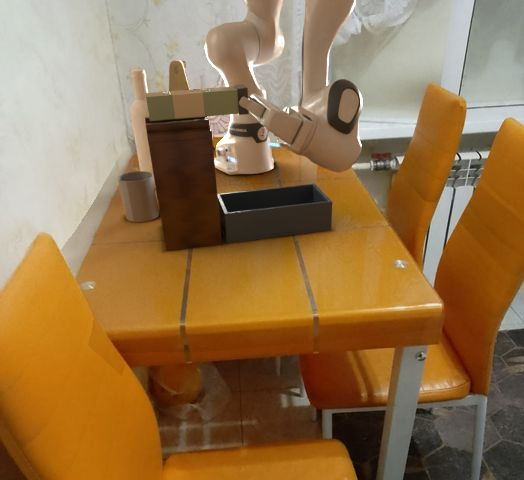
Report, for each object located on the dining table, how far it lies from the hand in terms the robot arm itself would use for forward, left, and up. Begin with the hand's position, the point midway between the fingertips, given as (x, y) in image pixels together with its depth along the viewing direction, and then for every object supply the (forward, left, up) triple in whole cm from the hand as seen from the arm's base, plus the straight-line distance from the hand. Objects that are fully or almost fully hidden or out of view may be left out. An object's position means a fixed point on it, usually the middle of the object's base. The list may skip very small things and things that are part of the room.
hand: (237, 97), depth 100 cm
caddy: (-64, +31, -28) cm, 77 cm away
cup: (-26, -13, -28) cm, 40 cm away
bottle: (-45, +3, -28) cm, 53 cm away
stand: (-6, -11, -28) cm, 31 cm away
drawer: (-4, -7, -3) cm, 9 cm away
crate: (+3, +6, -28) cm, 29 cm away
